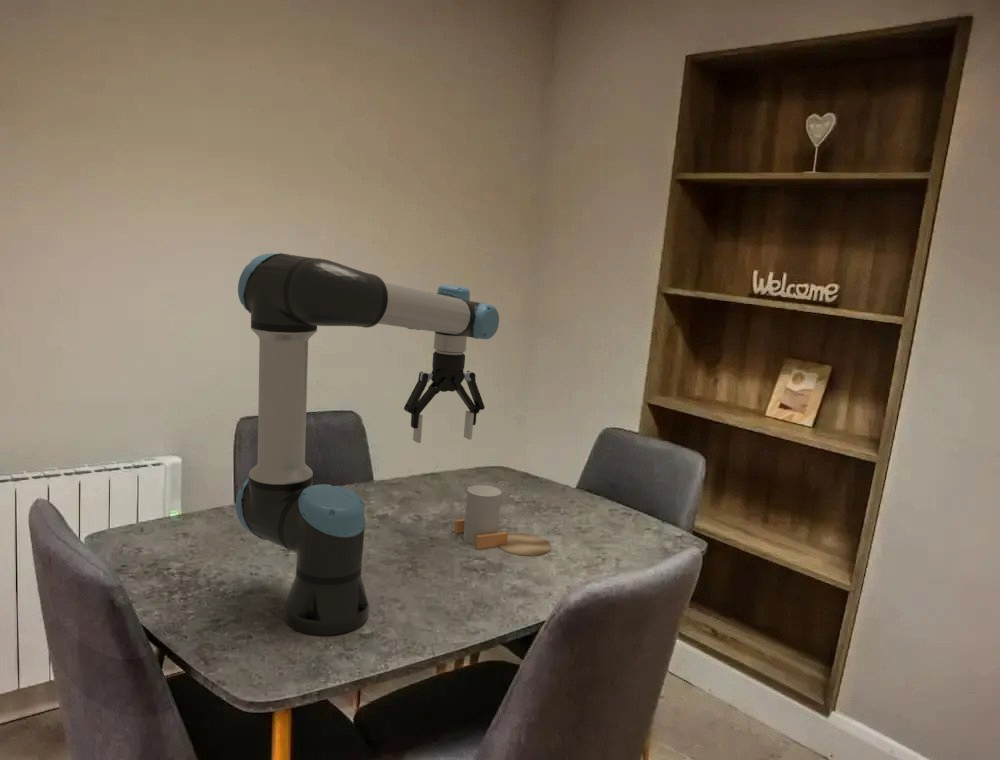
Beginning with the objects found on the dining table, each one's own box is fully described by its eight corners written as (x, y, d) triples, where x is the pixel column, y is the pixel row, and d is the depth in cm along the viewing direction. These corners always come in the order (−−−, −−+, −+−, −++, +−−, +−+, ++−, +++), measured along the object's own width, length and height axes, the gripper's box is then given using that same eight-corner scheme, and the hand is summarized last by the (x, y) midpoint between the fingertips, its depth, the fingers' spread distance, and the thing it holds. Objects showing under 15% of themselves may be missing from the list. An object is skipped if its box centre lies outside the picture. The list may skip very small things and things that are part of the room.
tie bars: (506, 545, 185) (507, 533, 184) (477, 549, 180) (478, 537, 180) (482, 527, 194) (483, 516, 194) (454, 531, 190) (455, 519, 190)
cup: (498, 534, 191) (503, 487, 189) (495, 546, 183) (499, 498, 181) (465, 530, 192) (469, 483, 190) (460, 542, 184) (465, 494, 182)
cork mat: (561, 552, 184) (561, 550, 183) (514, 559, 177) (515, 557, 177) (531, 532, 194) (531, 530, 194) (486, 538, 188) (486, 536, 188)
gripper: (487, 349, 192) (480, 433, 196) (393, 349, 179) (387, 438, 183) (503, 354, 186) (495, 440, 189) (407, 354, 173) (401, 447, 176)
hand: (442, 439), depth 186 cm, fingers open, 13 cm apart
